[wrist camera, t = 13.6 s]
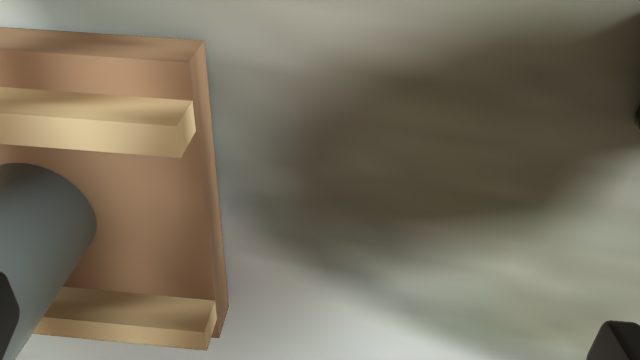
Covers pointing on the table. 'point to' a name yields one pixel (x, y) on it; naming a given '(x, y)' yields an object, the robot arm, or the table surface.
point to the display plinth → (124, 178)
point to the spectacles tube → (39, 239)
